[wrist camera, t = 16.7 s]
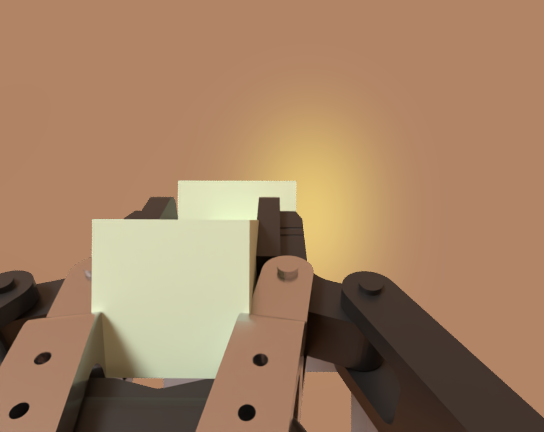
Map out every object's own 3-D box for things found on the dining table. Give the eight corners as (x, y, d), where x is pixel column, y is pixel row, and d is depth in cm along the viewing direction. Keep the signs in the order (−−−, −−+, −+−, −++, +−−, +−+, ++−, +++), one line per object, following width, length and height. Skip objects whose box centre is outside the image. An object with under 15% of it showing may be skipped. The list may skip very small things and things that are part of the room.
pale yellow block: (12, 376, 7) (15, 114, 7) (194, 269, 23) (195, 187, 23) (328, 379, 7) (328, 114, 7) (292, 269, 23) (292, 187, 23)
